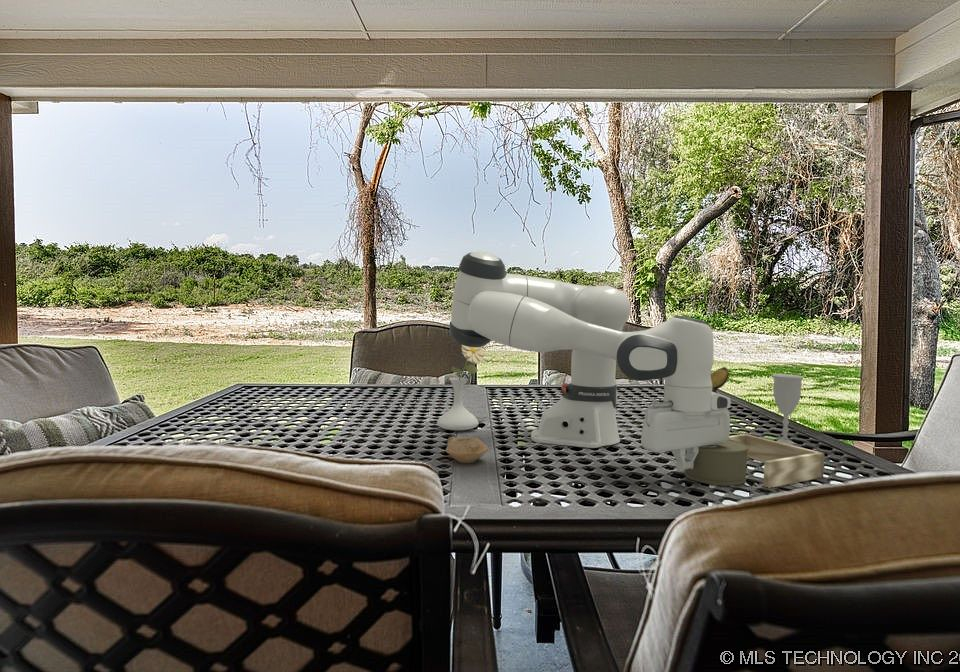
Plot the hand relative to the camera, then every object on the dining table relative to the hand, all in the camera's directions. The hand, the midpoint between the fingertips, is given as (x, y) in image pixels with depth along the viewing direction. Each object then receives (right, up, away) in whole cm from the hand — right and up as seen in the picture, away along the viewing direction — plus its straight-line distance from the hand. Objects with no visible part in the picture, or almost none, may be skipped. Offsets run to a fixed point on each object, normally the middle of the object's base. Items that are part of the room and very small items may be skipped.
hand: (684, 469), depth 118 cm
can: (+8, -3, +4) cm, 9 cm away
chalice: (+34, -2, +28) cm, 43 cm away
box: (+18, -2, +10) cm, 21 cm away
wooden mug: (+20, 0, +43) cm, 47 cm away
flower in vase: (-45, +1, +46) cm, 65 cm away
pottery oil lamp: (-44, -1, +15) cm, 46 cm away
